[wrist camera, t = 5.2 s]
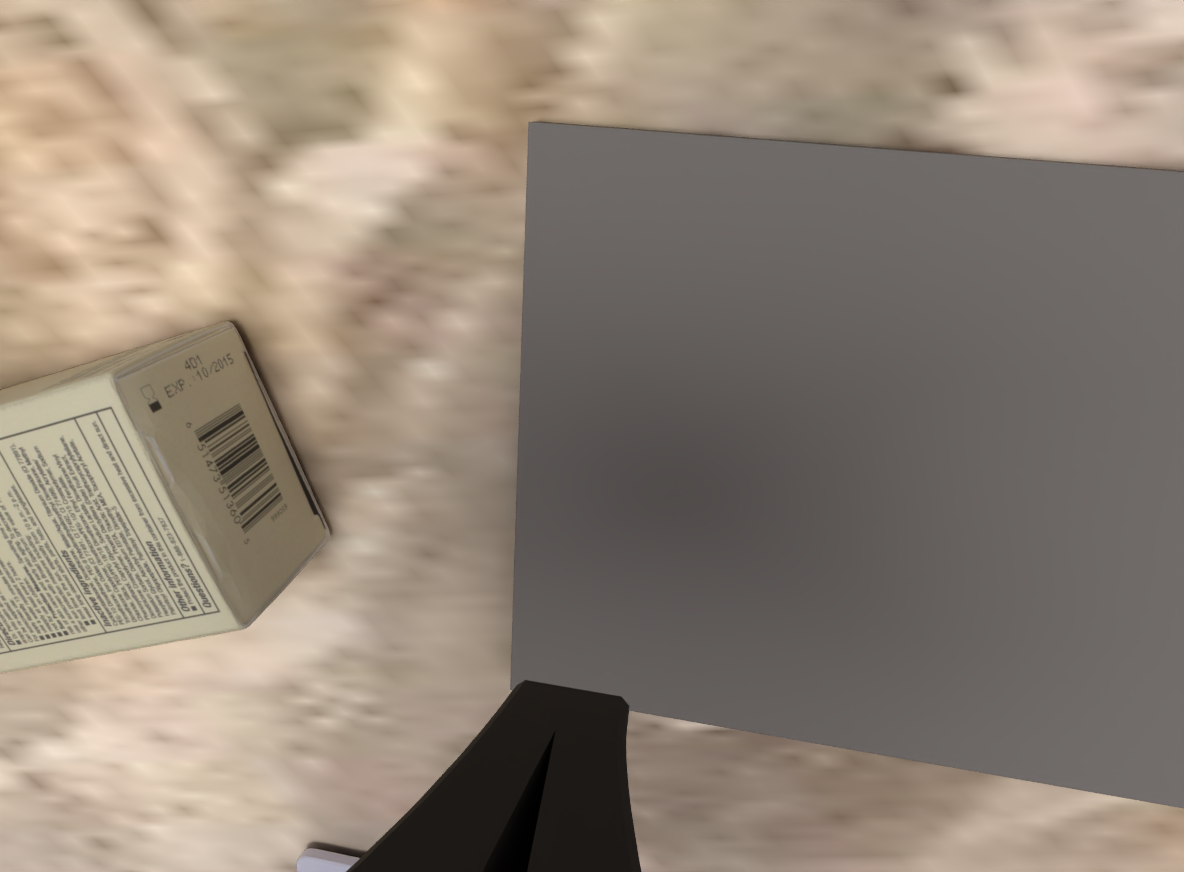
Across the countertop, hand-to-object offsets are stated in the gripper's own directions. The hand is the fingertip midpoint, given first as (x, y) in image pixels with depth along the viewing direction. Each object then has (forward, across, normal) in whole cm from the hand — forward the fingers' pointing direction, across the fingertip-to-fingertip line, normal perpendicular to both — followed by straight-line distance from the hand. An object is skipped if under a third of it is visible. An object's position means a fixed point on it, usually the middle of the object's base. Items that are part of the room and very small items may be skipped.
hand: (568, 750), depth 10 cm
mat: (+9, -6, 0) cm, 11 cm away
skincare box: (+7, +9, +1) cm, 11 cm away
